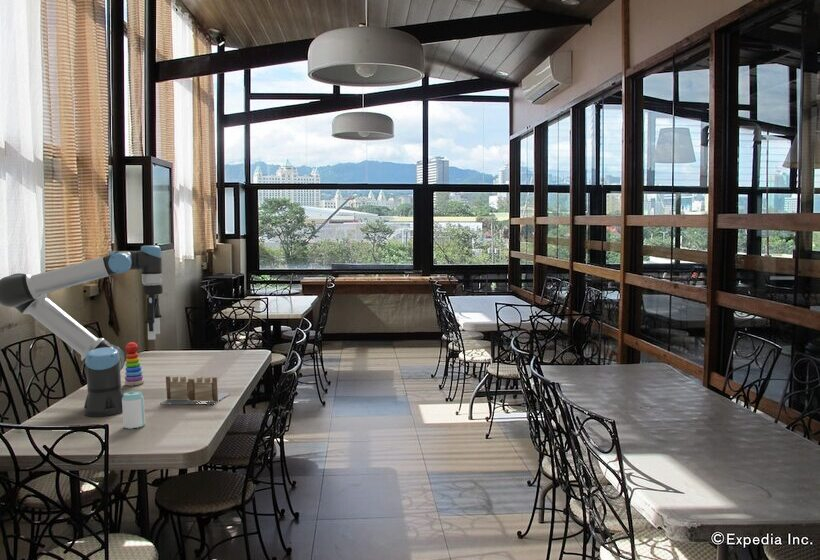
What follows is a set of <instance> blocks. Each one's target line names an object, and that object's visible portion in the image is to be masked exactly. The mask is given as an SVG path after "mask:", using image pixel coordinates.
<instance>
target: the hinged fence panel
mask: <svg viewBox="0 0 820 560" xmlns="http://www.w3.org/2000/svg"><path fill="white" fill-rule="evenodd" d="M165 385H166V386H165V388H166V400H167V399H179V400H188V399H189V387H188V380H187V376H186V375H185V376H177V375H175V376H174V375H173V376H172V377H171V375H167V376H165Z"/></svg>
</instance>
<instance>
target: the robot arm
mask: <svg viewBox="0 0 820 560" xmlns="http://www.w3.org/2000/svg"><path fill="white" fill-rule="evenodd" d="M161 250H162V249H161V247H160V246H159V245H142V246H140V250H114V251H112V250H111V251H109V252H108V255H105V256H101V257H97V258H92V259H90V260H86V261H82V262H78V263H75V264H71V265H67V266H64V267H63V266H62V267H60V268H56V269H51V270H48V271H45V272H40V273H37V274H30V273H19V272H17V273H13V274H10V275H8V276H4V277H1V278H0V305H1V306H3V307H5V308H14V309H15V310H17V311H18V312H19V313H21V314H22V315H31V317H33V318H34V319H35V320H36V321H38V322H39V323H40V324H42V326H44V327H45V328H46V329H48V330H49V331H50V332H51V333H53V334H54V335H55V336H56V337H58V338H59V339H61V341H63V342H64V343H66V345H68V346H69V347H70V348H72V349H73V350H74V351H75V352H77V353H78V354H79V355H80V360H81V361H82V363H84V364H85V370H86V371H85V372H86V384H87V386H86V387H87V395H86V398H85V401H84V402H85V403H84V406H83V415H84V416H87V417H94V418H95V417H96V418H97V417H108V416H113V415H118V414H120V413H121V414H122V413H123V410H122V398H123V396H124V393H123V390H122V379H121V370H122V369H123V368H124V366H125V364H126V363H125V362H126V358H125V357H126V356H125V353H124V351H123V350H122V349H121V348H120V347H119V346H118V345H115V344H111V343H110V342H109V341H108V340H107V339H105V338H104V337H96V336H95V335H94V334H93V333H91V332H90V330H88V329H87V328H85V327H84V326H83V325H82V324H81V323H79V322H78V321H77V320H76V319H74V318H73V317H71V315H69V314H68V312H66V311H65V310H63V309H62V308H61V307H60V306H58V305H57V304H56V303H54V302H53V301H52V300H51V299H50V298H48V293H52V292H57V291H59V290H63V289H66V288H67V289H68V288H71V287H73V286H78V285H80V284H81V285H82V284H85V283H88V282H89V283H90V282H92V281H95V280H100V279H102V278H107V277H110V276H114V275H115V276H116V275H118V274H123V273H126V272H128V271H135V270H137V271H139V270H140V271H141V283H142V287H141V288H142V294H143V295H144V296H147V295H148V297H147V298H146V302H147V303H146V320H145V321H144V322H145V324H147V340H149V341H151V340H156V335H161V323H160V321H161V320H160V319H161V318H162V314H161V312H160V311H161V310H160V300H159V299H160V298H159V295H161V294H163V285H162V283H163V279H164V275H162V274H163V273H162V272H163V263H162V257H163V256H162V251H161Z"/></svg>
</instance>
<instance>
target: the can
mask: <svg viewBox="0 0 820 560" xmlns="http://www.w3.org/2000/svg"><path fill="white" fill-rule="evenodd" d="M123 394H124V396H123V398H122V410H123V412H122V422H123V423H122V425H123V427H124V428H126V429H127V428H128V429H127V430H134V429H133V428H137V429H140V428H143V426H145V425H146V416H145V415H146V413H145V399H144V398H145V397H144V395H143V393H142V391H137V390H134V391H128V392H124V393H123ZM139 427H140V428H139Z"/></svg>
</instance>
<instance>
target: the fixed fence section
mask: <svg viewBox="0 0 820 560" xmlns="http://www.w3.org/2000/svg"><path fill="white" fill-rule="evenodd" d="M211 379H212V380H211ZM187 381H188V387H189V401H194V400H195V401H218V393H219V391H218V377H217V376H212V377H211V376H205V377H204V380H203V376H197V377H196V381H195V378H194V377H192V378H191V377H190V378H188V379H187Z"/></svg>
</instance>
